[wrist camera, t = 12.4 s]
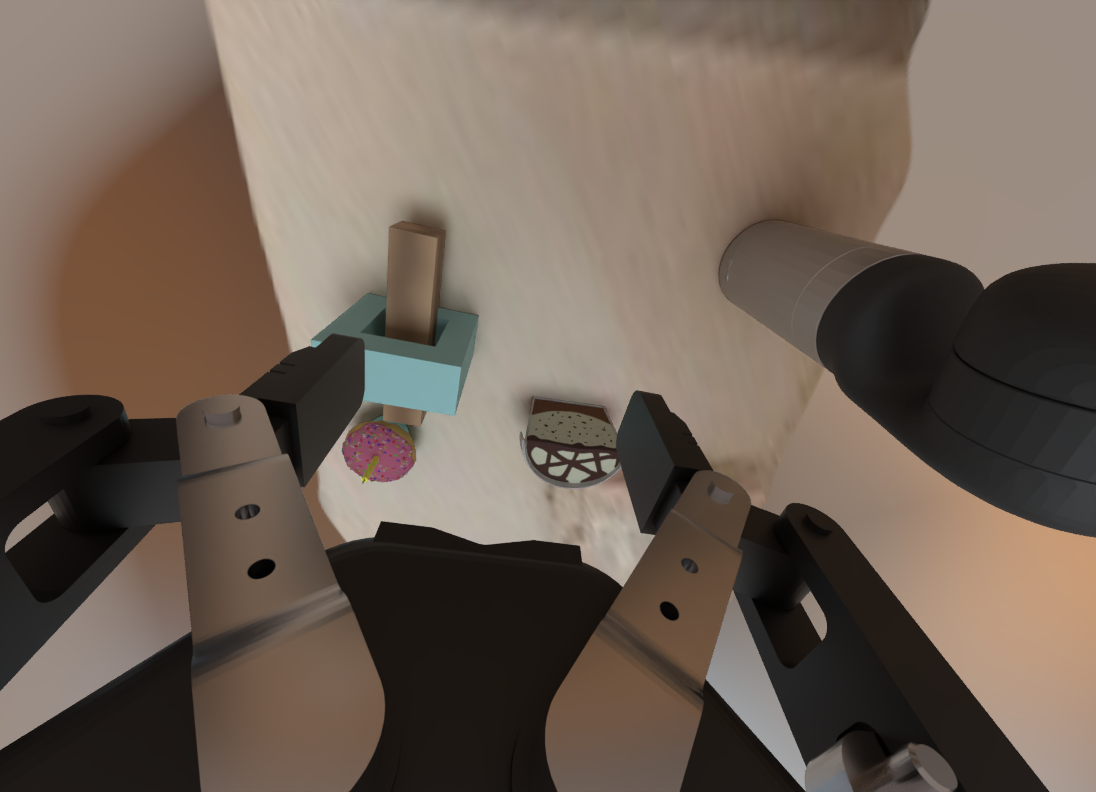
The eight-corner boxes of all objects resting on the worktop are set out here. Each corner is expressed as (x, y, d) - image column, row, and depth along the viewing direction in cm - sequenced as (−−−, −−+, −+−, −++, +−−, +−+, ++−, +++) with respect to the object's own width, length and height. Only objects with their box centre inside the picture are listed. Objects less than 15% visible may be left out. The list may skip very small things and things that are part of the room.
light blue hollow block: (478, 315, 45) (461, 367, 34) (472, 355, 47) (454, 415, 36) (367, 293, 43) (310, 339, 32) (367, 335, 46) (314, 392, 34)
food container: (514, 433, 53) (511, 486, 45) (521, 394, 50) (519, 443, 42) (603, 445, 55) (617, 498, 46) (615, 407, 52) (632, 457, 43)
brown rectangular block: (445, 231, 37) (437, 238, 34) (428, 407, 47) (420, 426, 44) (402, 220, 37) (389, 226, 33) (393, 401, 47) (382, 420, 43)
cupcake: (366, 393, 49) (323, 454, 39) (433, 417, 52) (408, 481, 41) (350, 443, 53) (307, 511, 43) (413, 464, 55) (386, 533, 45)
